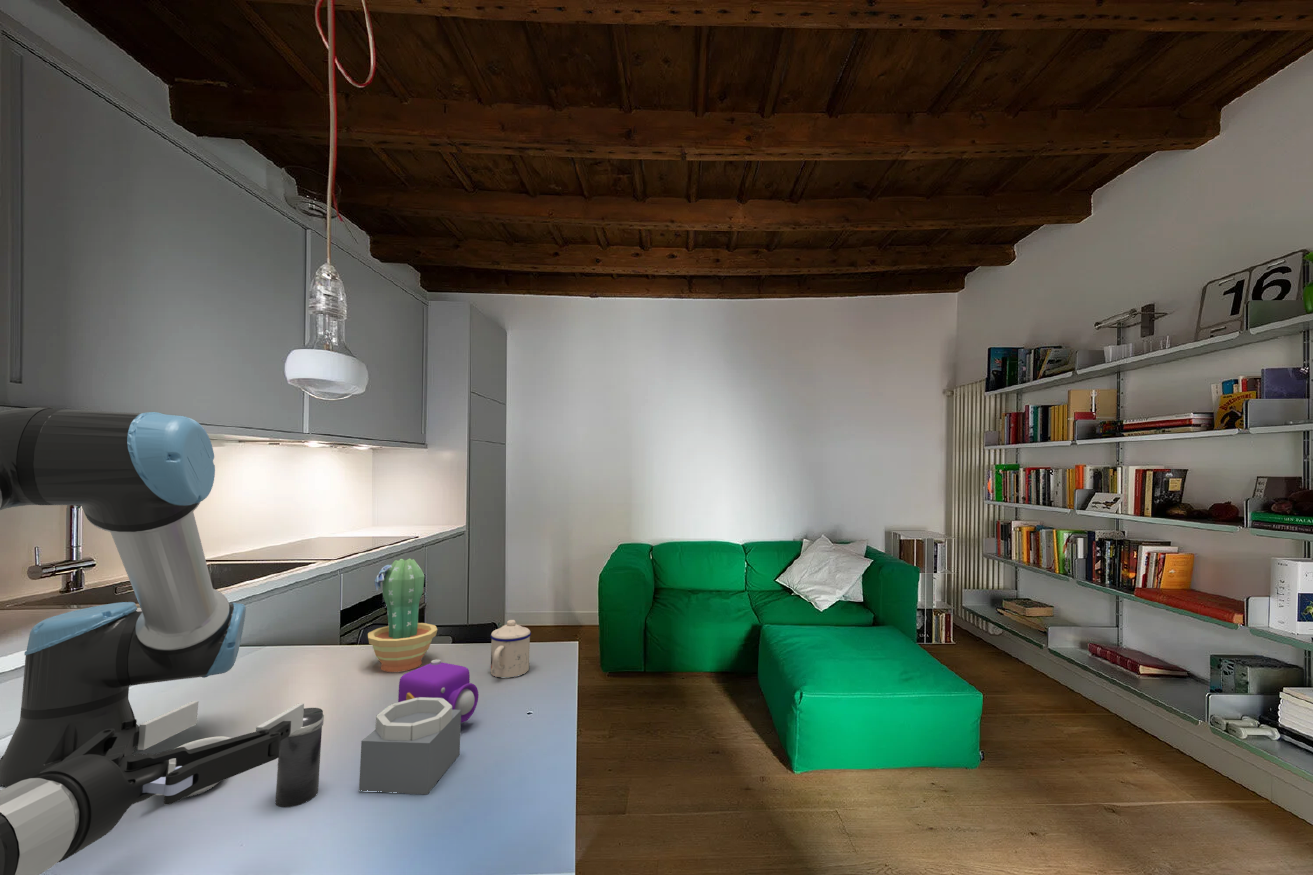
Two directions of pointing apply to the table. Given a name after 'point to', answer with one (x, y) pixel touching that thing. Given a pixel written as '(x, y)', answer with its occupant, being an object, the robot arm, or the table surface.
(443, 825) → the table surface
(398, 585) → the potted cactus
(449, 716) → the camera body block
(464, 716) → the toy camera
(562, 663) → the table surface
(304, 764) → the lens
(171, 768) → the teacup
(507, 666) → the teacup with lid
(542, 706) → the table surface
